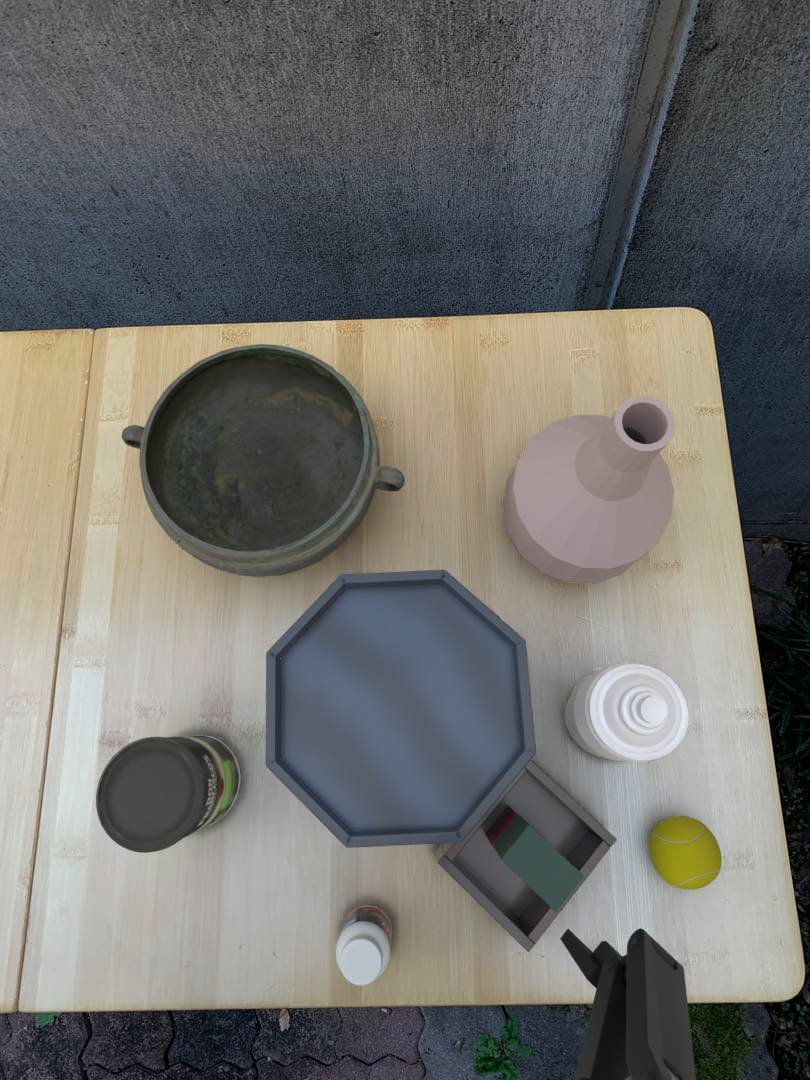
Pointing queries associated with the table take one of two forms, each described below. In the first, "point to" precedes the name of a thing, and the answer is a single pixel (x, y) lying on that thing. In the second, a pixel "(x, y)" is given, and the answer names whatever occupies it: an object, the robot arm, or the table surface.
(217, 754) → the coffee can
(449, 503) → the table surface
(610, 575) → the vase
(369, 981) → the pill bottle
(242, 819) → the table surface
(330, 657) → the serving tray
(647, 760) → the white stepped cylinder
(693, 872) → the tennis ball
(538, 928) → the holder
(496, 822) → the red rectangular block
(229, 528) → the bowl
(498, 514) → the table surface
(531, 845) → the packet green
